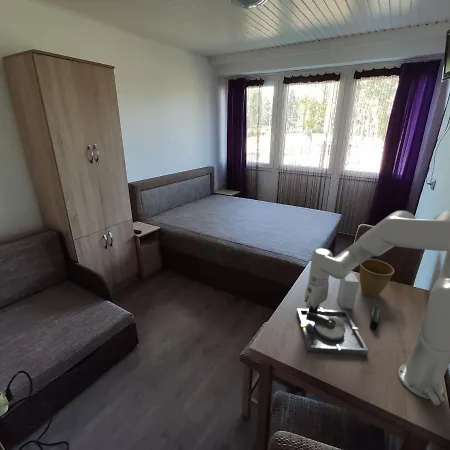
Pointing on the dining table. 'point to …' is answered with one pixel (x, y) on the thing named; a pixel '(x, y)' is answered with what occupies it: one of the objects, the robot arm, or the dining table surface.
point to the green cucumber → (374, 317)
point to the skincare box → (347, 291)
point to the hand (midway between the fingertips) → (312, 314)
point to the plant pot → (374, 276)
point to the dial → (327, 326)
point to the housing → (318, 344)
